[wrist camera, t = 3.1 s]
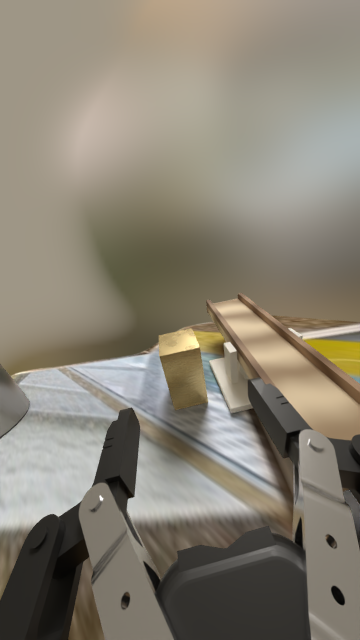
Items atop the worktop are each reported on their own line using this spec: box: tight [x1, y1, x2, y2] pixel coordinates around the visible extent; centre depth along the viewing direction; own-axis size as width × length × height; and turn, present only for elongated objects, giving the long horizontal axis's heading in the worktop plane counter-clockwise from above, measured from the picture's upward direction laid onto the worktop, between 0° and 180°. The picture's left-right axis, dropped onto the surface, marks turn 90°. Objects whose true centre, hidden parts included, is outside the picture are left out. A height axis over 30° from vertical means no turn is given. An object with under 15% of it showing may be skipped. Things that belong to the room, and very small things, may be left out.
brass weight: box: [159, 328, 208, 410], centre depth 25 cm, size 5×5×10 cm
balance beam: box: [206, 293, 360, 491], centre depth 25 cm, size 30×8×3 cm, turn 8°
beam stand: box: [209, 328, 303, 414], centre depth 26 cm, size 10×14×7 cm
